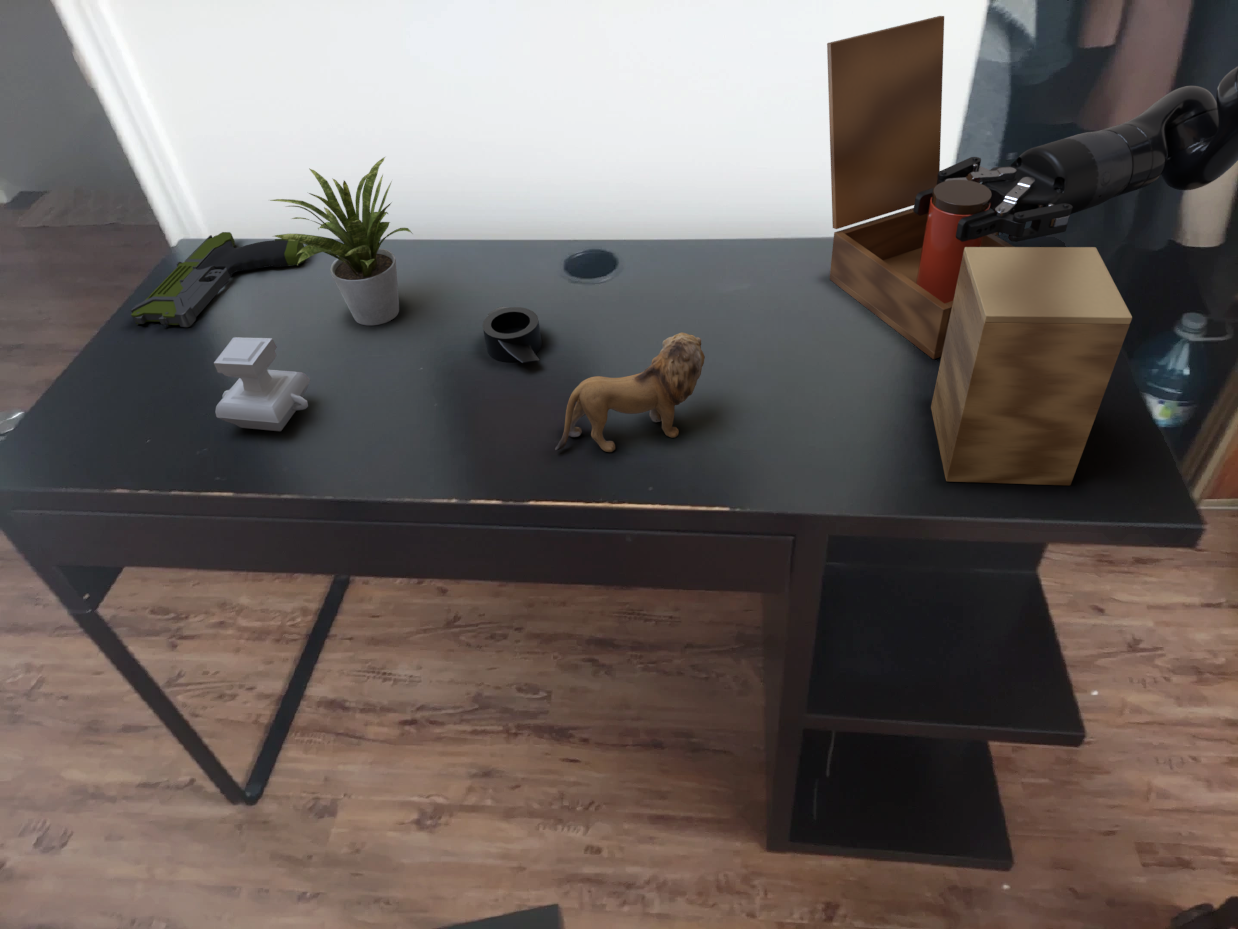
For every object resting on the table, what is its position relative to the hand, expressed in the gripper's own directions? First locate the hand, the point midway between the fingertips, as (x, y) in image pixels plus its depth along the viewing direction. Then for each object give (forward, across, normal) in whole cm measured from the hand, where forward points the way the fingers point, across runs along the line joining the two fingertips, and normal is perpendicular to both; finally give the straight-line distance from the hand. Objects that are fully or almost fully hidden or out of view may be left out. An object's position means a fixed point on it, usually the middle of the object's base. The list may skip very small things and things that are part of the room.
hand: (937, 217), depth 89 cm
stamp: (+65, +17, -11) cm, 68 cm away
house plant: (+51, +32, -11) cm, 61 cm away
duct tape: (+40, +16, -11) cm, 44 cm away
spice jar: (-2, 0, -10) cm, 10 cm away
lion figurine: (+35, -2, -11) cm, 36 cm away
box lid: (-2, +12, +4) cm, 13 cm away
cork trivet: (+8, -20, +5) cm, 22 cm away
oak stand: (+8, -20, -11) cm, 24 cm away
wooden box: (-2, +2, -11) cm, 11 cm away
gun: (+66, +46, -11) cm, 81 cm away
